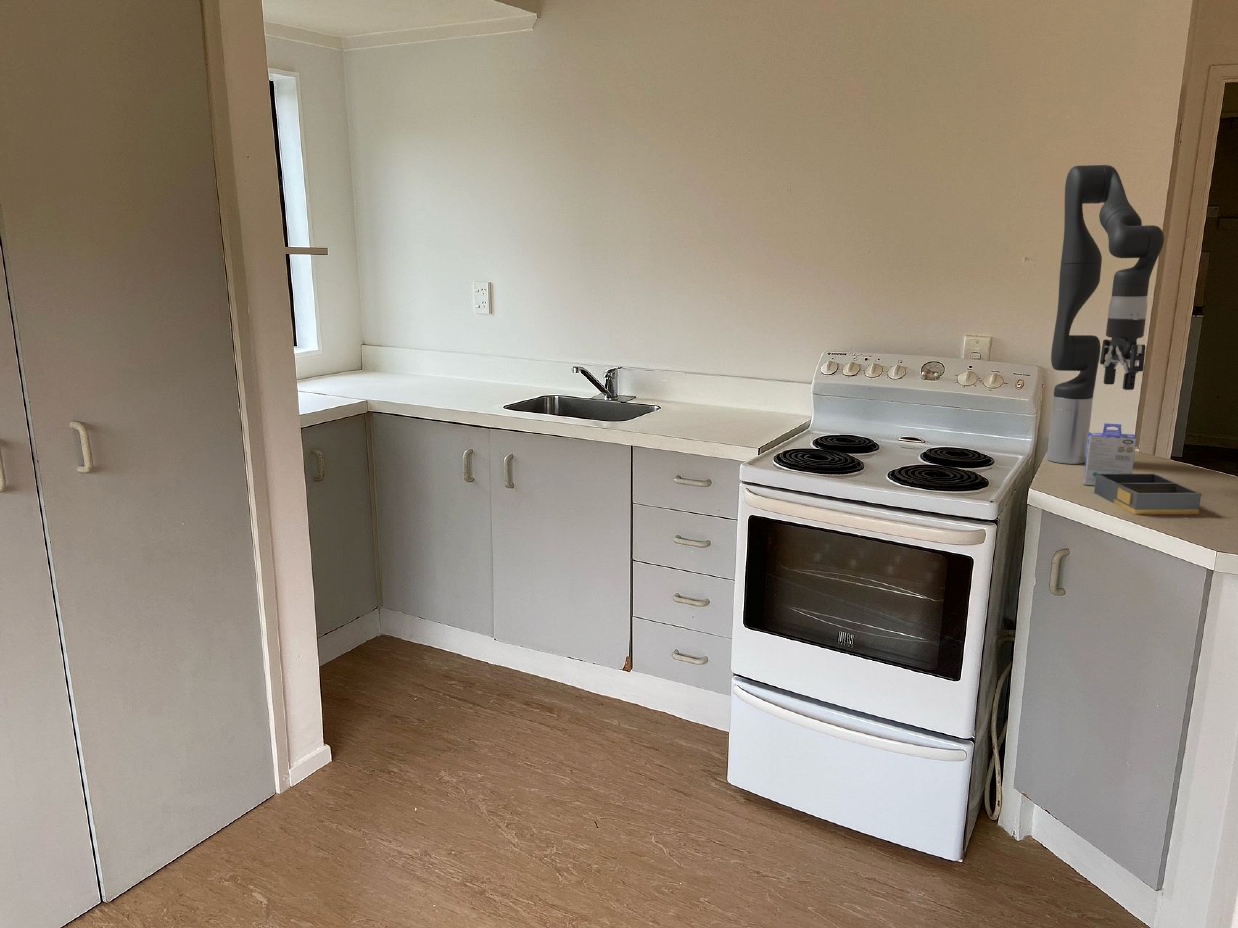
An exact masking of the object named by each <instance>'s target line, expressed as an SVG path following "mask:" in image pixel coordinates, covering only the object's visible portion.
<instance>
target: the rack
mask: <svg viewBox="0 0 1238 928" xmlns="http://www.w3.org/2000/svg"><path fill="white" fill-rule="evenodd" d="M1093 494H1096V495H1097V496H1099V497H1101V498H1103V499H1105V500H1107V501H1109V502H1111V503H1113V504H1114V505H1117V506H1119V507H1120V508H1122V509H1124V510H1126V511H1127V512H1130V513H1132V514H1133V515H1199V512H1200V504H1201V497H1202V493H1201V492H1199V491H1197V490H1194V489H1192V488H1189V487H1187V486H1184V485H1182V484H1180V483H1178V482H1175V481H1173V480H1170V479H1168V478H1166V477H1164V476H1161V475H1159V474H1156V473H1132V474H1096V482H1095V485H1094V491H1093Z"/></svg>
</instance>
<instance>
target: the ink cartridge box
mask: <svg viewBox="0 0 1238 928" xmlns="http://www.w3.org/2000/svg"><path fill="white" fill-rule="evenodd" d="M1111 427H1114V428H1117V429H1107V428H1111ZM1136 444H1137V437H1136V435H1135V434H1134V433H1133V434H1132V433H1129V434H1128V433H1122V424H1118V423H1106V422H1104V423H1103V431H1102V432H1090V431H1089V433H1088V442H1087V452H1086V462H1085V463H1084V464H1085V466H1084V473H1083V474H1084V475H1083V479H1082V480H1083V485H1086V486H1095V482H1096V474H1133V469H1134V461H1135V454H1136V453H1135V452H1136V446H1137V445H1136Z"/></svg>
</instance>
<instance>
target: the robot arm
mask: <svg viewBox="0 0 1238 928" xmlns="http://www.w3.org/2000/svg"><path fill="white" fill-rule="evenodd" d="M1064 185H1065V187H1064V227H1063V229H1064V230H1063V242H1062V248H1061V249H1062V252H1061V259H1060V270H1059V278H1058V280H1059V281H1058V283H1059V284H1058V299H1057V300H1058V301H1057V309H1056V319H1055V323H1054V324H1055V325H1054V332H1053V338H1052V346H1051V350H1050V351H1051V353H1050V354H1051V355H1050V362H1051V368H1053V370H1055V371H1061V372H1062V371H1064V372H1065V371H1067V372H1079V374H1078V375H1077V376H1075V377H1073V378H1072V379H1070V380H1066V381H1063V382H1060V383H1057V384H1056V385H1055V386H1054V388H1053V396H1052V404H1051V405H1052V407H1051V415H1050V417H1051V418H1050V424H1049V425H1050V426H1049V434H1048V443H1047V444H1048V445H1047V455H1046V456H1047V457H1046V459H1047V460H1048V461H1050V462H1054V463H1059V464H1070V465H1071V464H1072V465H1074V464H1076V465H1077V464H1085V463H1086V452H1087V442H1088V433H1089V432H1090V427H1091V420H1092V419H1091V418H1092V410H1093V409H1092V408H1093V402H1094V401H1093V400H1094V394H1095V387H1096V382H1097V381H1096V379H1097V374H1098V370H1099V368H1098V367H1099V364H1100V365H1103V369H1104V374H1103V384H1104V385H1107V386H1108V385H1115V381H1116V373H1117V369H1116V367H1117V366H1118V365H1119V363H1120V365H1121V366H1123V370H1124V375H1123V380H1122V381H1123V382H1122V390H1125V391H1133V390H1134V389H1135V386H1136V385H1135V383H1136V375H1137V374H1139V372H1143V371H1144V368H1145V357H1146V356H1145V355H1146V345H1145V344H1141V343H1140V344H1139V343H1138V342H1137V340H1138V339H1141V338H1143V337H1144V335H1145V329H1146V320H1147V313H1148V294H1149V287H1150V279H1151V275H1152V274H1153V273H1152V272H1153V270H1154V267H1155V265H1156V263H1157V259H1158V258H1159V256H1160V254H1161V252H1162V249H1163V247H1164V243H1165V234H1164V232H1163V230H1162V229H1161V228H1160V226H1158V225H1148V224H1147V225H1143V224H1142V223H1143V222H1142V218H1141V216H1139V213H1137V212H1136V210H1135V209H1134V207H1133V206H1132V204H1131V203H1130V202H1129V200H1128V196H1127V194H1126V191H1125V188H1124V185H1123V182H1122V179H1121V176H1120V175H1119V172H1118V171H1117V169H1116V168H1115V167H1114V166H1112V165H1110V164H1109V165H1108V164H1092V165H1091V164H1090V165H1089V164H1088V165H1075V166H1073V167H1071V168H1070V169H1069V171H1068V173H1067V175H1066V178H1065V184H1064ZM1102 203H1103V204H1102ZM1085 204H1088V205H1089V204H1095V205H1096V204H1102V206H1101V208H1100V210H1099V215H1098V218H1099V222H1100V225H1101V226H1102V228H1103V229H1104V230H1105V233H1107V238H1108V252H1109V253H1110V254H1111V256H1113V257H1114V258H1117V259H1138V260H1137V262H1136V263H1135V265H1134V266H1132V267H1130V268H1129V267H1127V268H1123V269H1120V270H1117V271H1116V272H1115V273H1114V276H1113V280H1112V281H1113V282H1112V291H1111V296H1110V297H1111V299H1110V301H1109V305H1108V312H1107V322H1106V330H1105V336H1106V337H1107V338H1111V339H1103V341H1102V346H1101V341H1100V338H1099V337H1098V336H1096V335H1092V334H1091V335H1089V334H1087V335H1086V334H1085V335H1082V334H1072V335H1071V334H1070V333H1071V328H1072V325H1073V323H1074V320H1075V318H1076V316H1077V315H1078V313H1079V312H1080V311H1081V310H1082V308H1083V306H1084V305H1086V303H1087V301H1089V299H1090V298H1091V296H1092V295H1093V294H1094V293H1095V291H1096V289H1097V288H1098V286H1099V285H1100V282H1101V274H1102V273H1101V272H1102V262H1103V261H1102V260H1103V257H1102V253H1101V250H1100V248H1099V247H1098V244H1097V243H1096V241H1095V239H1094V238H1093V236H1092V235H1091V233H1090V231H1089V230H1088V228H1087V226H1086V222H1085V219H1084V217H1085V216H1084V210H1083V208H1084V207H1083V205H1085Z"/></svg>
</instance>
